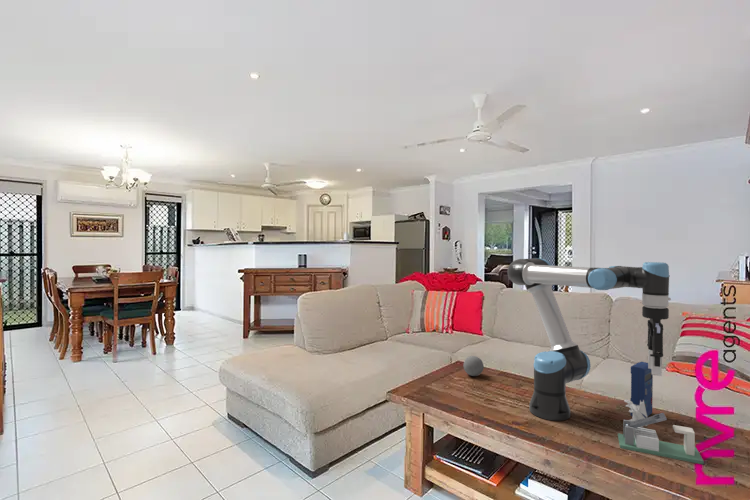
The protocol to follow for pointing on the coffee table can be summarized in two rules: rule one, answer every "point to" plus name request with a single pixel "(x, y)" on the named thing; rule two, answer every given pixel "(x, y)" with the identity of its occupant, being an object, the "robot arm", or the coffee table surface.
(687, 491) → the coffee table surface
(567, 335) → the robot arm
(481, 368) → the decorative ball
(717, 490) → the coffee table surface
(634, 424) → the strap
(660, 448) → the board
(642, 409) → the figurine
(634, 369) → the electronic device
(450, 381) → the coffee table surface
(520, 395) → the coffee table surface
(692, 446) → the bracket
